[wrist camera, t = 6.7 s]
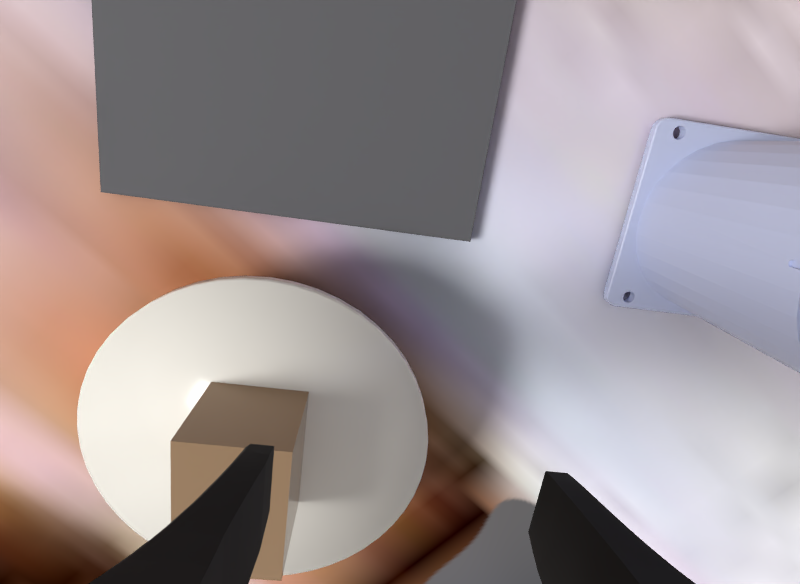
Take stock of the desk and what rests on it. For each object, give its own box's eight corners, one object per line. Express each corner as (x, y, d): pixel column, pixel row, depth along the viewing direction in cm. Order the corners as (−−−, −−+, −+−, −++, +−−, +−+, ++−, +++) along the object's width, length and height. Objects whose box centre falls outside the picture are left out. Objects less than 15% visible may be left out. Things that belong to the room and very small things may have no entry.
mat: (543, -158, 16) (548, -167, 16) (468, 239, 20) (470, 241, 20) (88, -255, 15) (78, -268, 14) (107, 190, 19) (100, 192, 19)
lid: (452, 299, 17) (475, 346, 13) (401, 574, 21) (407, 673, 17) (75, 253, 16) (-23, 290, 12) (96, 552, 20) (27, 653, 16)
